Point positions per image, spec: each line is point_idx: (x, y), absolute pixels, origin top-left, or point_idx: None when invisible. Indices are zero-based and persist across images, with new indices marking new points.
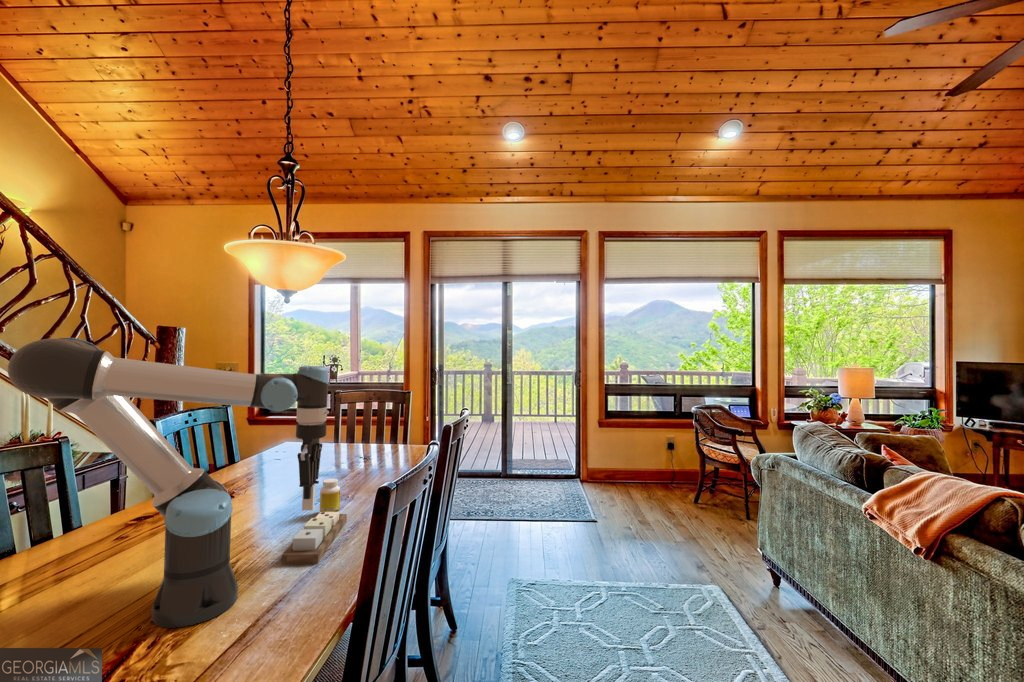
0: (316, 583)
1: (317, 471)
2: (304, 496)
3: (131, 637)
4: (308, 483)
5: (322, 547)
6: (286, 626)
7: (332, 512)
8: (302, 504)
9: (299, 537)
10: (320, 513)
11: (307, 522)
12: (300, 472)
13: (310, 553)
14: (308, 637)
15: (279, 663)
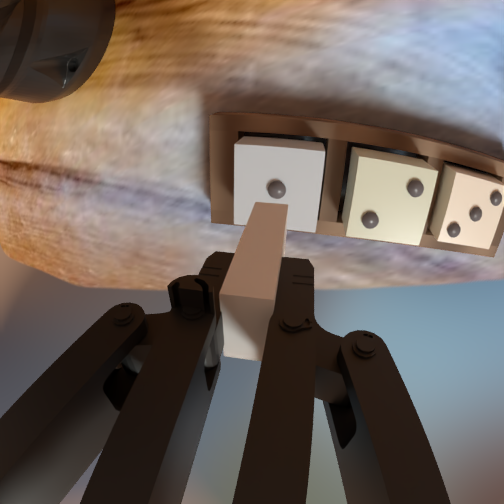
0: (133, 228)
1: (335, 447)
2: (205, 266)
3: None
4: (117, 370)
5: None
6: (35, 216)
7: (491, 228)
8: (249, 217)
9: (242, 166)
10: (497, 189)
11: (396, 162)
12: (24, 406)
13: (215, 200)
14: (31, 249)
15: (2, 230)
